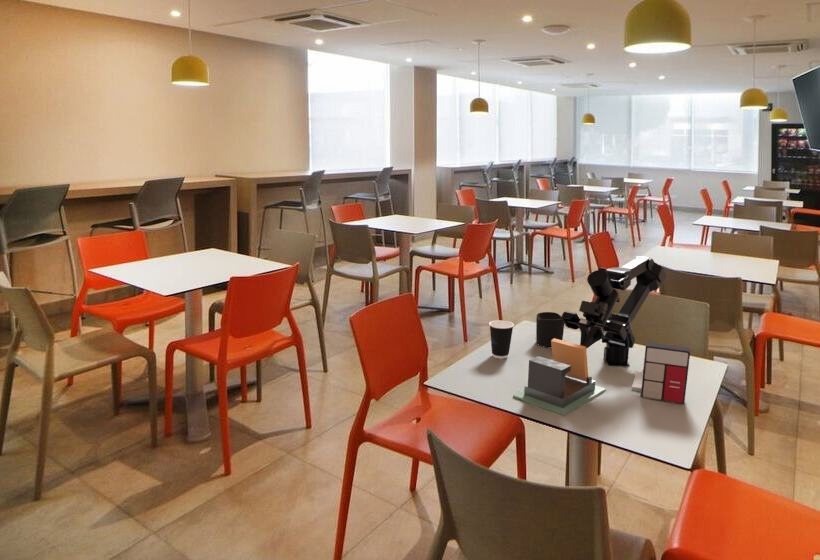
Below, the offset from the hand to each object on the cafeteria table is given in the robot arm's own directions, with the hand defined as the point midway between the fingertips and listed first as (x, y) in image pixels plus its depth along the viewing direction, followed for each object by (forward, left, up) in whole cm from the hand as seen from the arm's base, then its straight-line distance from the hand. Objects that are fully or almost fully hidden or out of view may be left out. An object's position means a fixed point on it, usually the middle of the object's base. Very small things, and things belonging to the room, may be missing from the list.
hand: (581, 350), depth 176 cm
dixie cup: (+21, -21, -10) cm, 31 cm away
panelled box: (-20, +10, -10) cm, 25 cm away
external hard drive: (-20, 0, -11) cm, 23 cm away
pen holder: (+3, -34, -10) cm, 36 cm away
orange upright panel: (+3, +4, -6) cm, 8 cm away
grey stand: (+7, +8, -10) cm, 14 cm away
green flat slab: (+7, +8, -10) cm, 15 cm away
